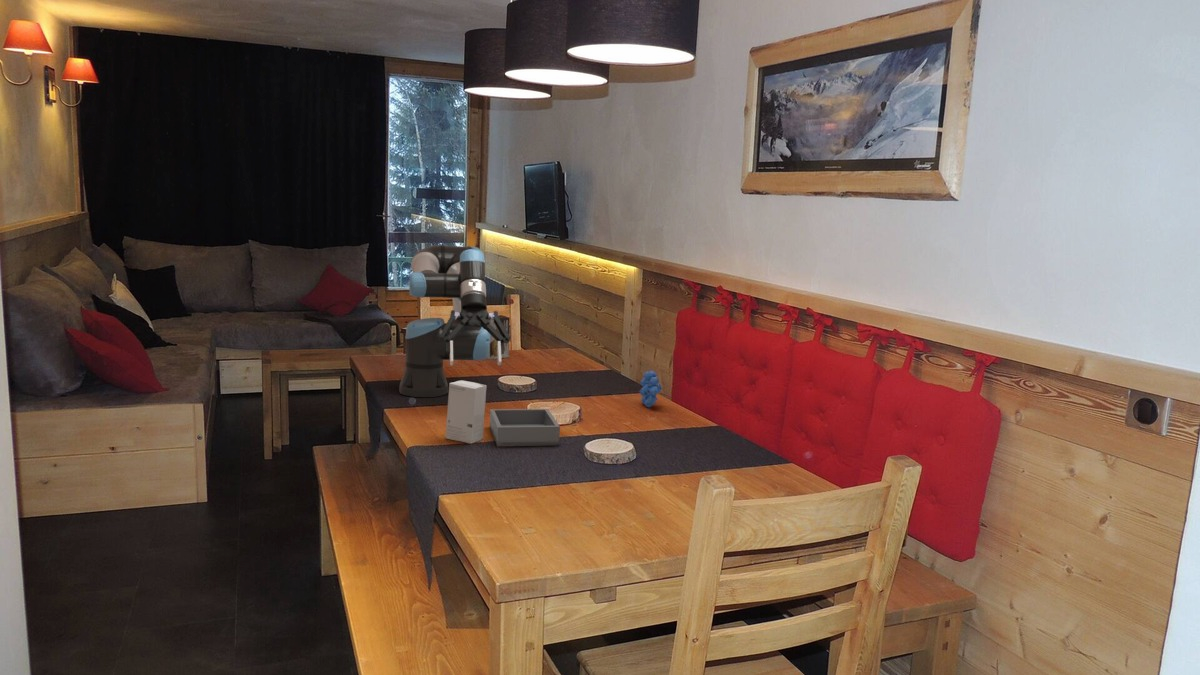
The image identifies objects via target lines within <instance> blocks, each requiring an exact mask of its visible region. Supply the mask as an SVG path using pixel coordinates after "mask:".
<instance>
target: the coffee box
mask: <svg viewBox="0 0 1200 675" xmlns="http://www.w3.org/2000/svg"><path fill="white" fill-rule="evenodd" d="M498 316H499V319H500V321H501V322H502V324H503V326H504V327H505V329H506V330H507V332H508V334H509V335H510V321H511V320H510V319H511V318H510V317H508V316H506V315H502V314H500V315H499V314H498ZM487 320H488V322H489V323H490V325H491V326H492V327H493V328H494V329H495V330H496V331H497V332H498V333H499V334H500V335H501V333H500V332H499V330H498V328H497V327H496V325H495V323H494V320H493V321H492V320H491V318H488V319H487ZM501 336H502V335H501ZM497 343H498V342H497V341H496V340H495V339H494V338H493V337H492V336H491V335H490V344H489V354H488V357H487V358H486V359H487V360H498V358H497ZM504 347H505V351H504V354H501V359H504V358H505V359H507V358H509V357H510V341H509V342H508V343H504Z"/></svg>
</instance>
